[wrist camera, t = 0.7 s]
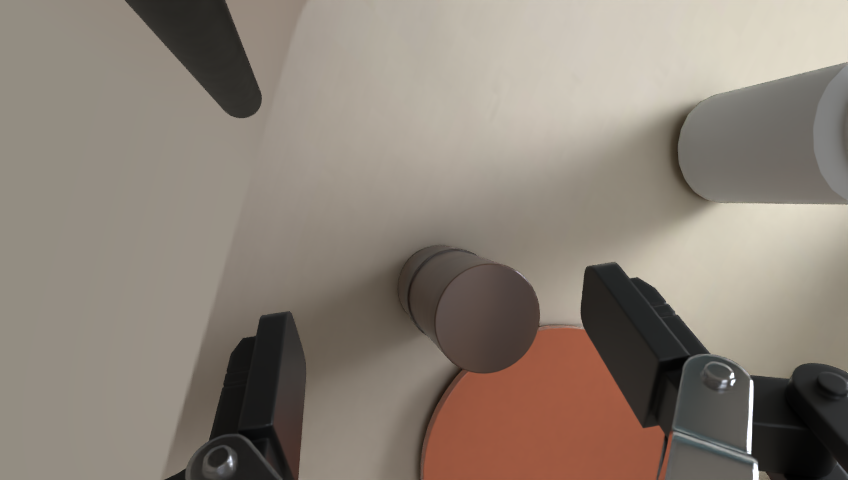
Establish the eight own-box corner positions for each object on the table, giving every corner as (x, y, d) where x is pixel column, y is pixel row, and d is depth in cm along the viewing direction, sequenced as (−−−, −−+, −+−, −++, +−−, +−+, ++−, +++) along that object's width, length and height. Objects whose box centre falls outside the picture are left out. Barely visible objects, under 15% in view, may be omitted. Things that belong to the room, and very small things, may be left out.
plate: (393, 572, 33) (396, 587, 32) (449, 303, 32) (455, 308, 31) (628, 578, 38) (639, 592, 36) (681, 342, 37) (695, 347, 36)
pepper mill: (388, 321, 32) (421, 368, 23) (405, 236, 31) (445, 251, 23) (468, 333, 33) (529, 382, 24) (486, 252, 33) (553, 272, 24)
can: (658, 111, 35) (837, 68, 23) (746, 84, 36) (955, 31, 25) (680, 215, 36) (861, 224, 24) (765, 185, 37) (973, 180, 26)
